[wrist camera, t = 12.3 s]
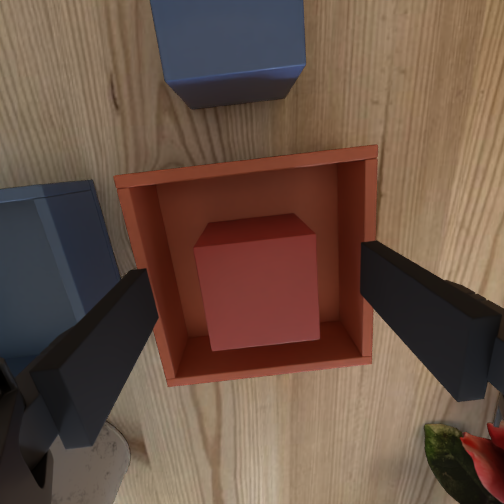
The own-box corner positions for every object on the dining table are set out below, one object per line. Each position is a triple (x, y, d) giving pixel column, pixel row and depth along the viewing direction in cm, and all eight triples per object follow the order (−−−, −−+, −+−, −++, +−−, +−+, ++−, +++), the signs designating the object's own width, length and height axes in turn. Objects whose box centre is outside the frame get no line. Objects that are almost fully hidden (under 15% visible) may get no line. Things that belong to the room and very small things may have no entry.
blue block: (171, -9, 14) (128, -112, 9) (277, -22, 14) (298, -133, 9) (190, 109, 16) (164, 81, 10) (285, 98, 16) (306, 64, 10)
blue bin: (-103, 202, 17) (-222, 215, 12) (92, 179, 17) (40, 184, 12) (-20, 364, 20) (-90, 416, 16) (140, 345, 20) (112, 393, 16)
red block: (207, 222, 17) (192, 247, 12) (294, 212, 17) (316, 233, 12) (220, 299, 19) (211, 351, 14) (299, 291, 19) (320, 339, 14)
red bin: (146, 172, 17) (112, 175, 12) (343, 149, 17) (378, 144, 12) (183, 340, 20) (167, 387, 16) (345, 322, 20) (372, 364, 16)
